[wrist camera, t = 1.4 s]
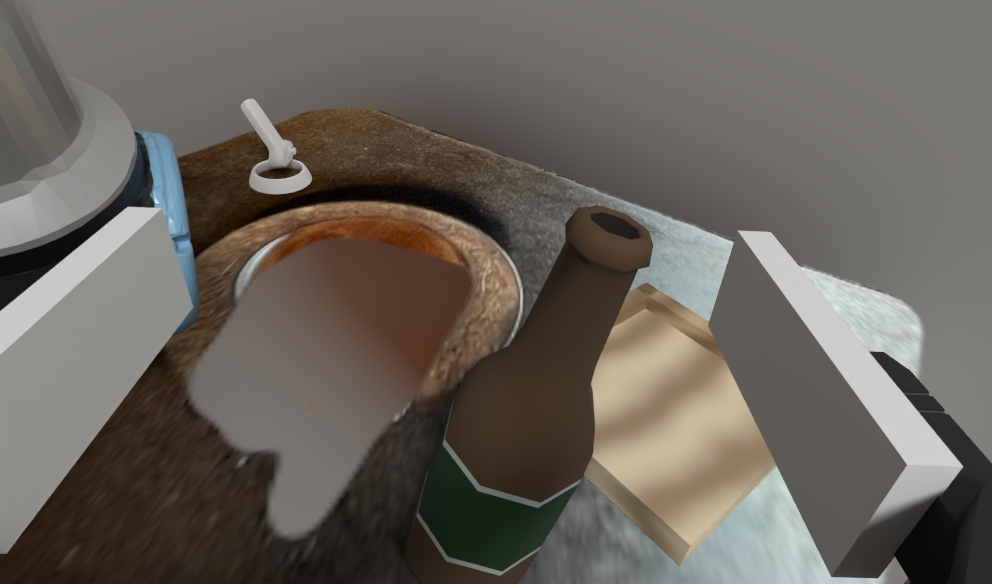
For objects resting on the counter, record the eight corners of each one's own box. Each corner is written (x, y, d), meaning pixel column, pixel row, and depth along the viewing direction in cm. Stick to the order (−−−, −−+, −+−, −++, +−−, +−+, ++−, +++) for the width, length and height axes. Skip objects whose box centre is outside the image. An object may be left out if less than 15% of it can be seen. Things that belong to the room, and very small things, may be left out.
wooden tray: (499, 395, 47) (503, 361, 45) (637, 314, 57) (646, 282, 55) (679, 566, 37) (697, 532, 34) (810, 431, 47) (831, 398, 44)
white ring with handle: (226, 120, 75) (267, 92, 73) (284, 199, 79) (324, 174, 77) (196, 130, 68) (240, 99, 66) (261, 215, 72) (305, 188, 70)
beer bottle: (537, 606, 34) (748, 288, 21) (410, 627, 31) (568, 271, 18) (500, 493, 40) (649, 189, 27) (391, 502, 37) (500, 164, 24)
